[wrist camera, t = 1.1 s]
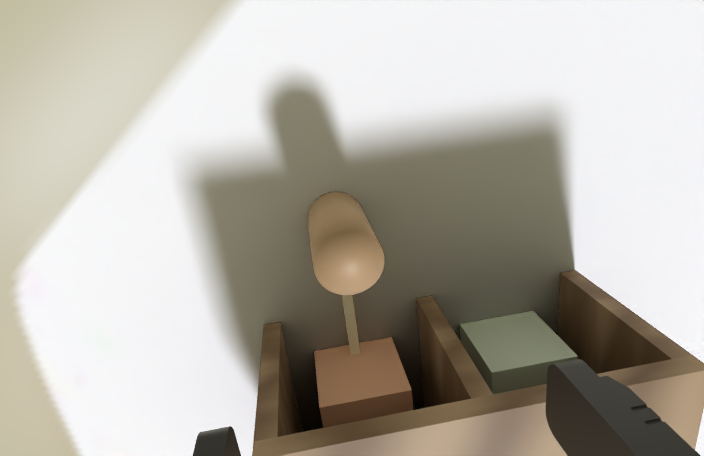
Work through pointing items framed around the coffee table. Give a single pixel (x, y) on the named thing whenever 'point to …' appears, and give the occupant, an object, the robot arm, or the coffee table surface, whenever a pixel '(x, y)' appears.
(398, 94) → the coffee table surface
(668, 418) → the shelf
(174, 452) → the coffee table surface
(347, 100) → the coffee table surface
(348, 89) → the coffee table surface
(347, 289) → the tethered block
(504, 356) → the shelf block
